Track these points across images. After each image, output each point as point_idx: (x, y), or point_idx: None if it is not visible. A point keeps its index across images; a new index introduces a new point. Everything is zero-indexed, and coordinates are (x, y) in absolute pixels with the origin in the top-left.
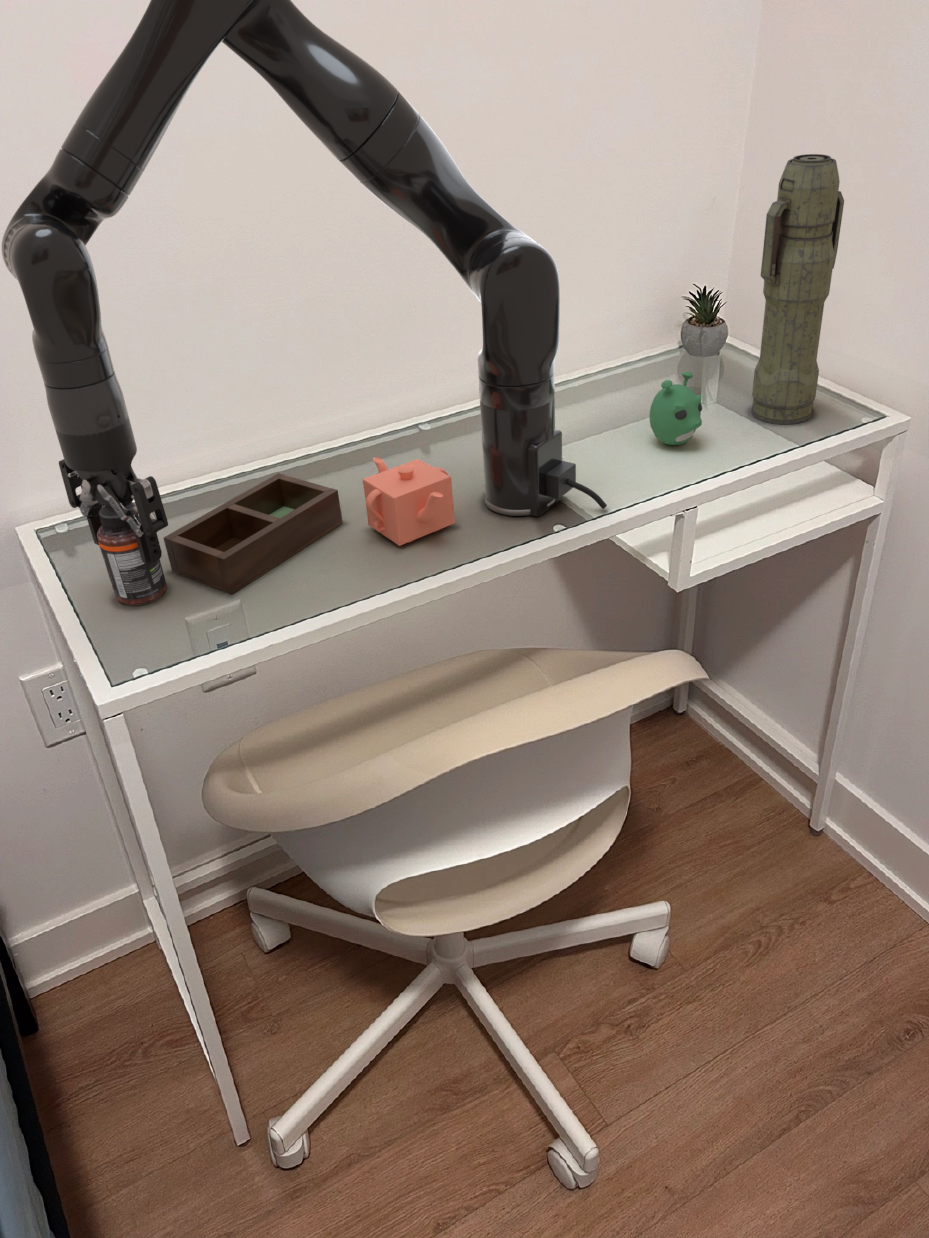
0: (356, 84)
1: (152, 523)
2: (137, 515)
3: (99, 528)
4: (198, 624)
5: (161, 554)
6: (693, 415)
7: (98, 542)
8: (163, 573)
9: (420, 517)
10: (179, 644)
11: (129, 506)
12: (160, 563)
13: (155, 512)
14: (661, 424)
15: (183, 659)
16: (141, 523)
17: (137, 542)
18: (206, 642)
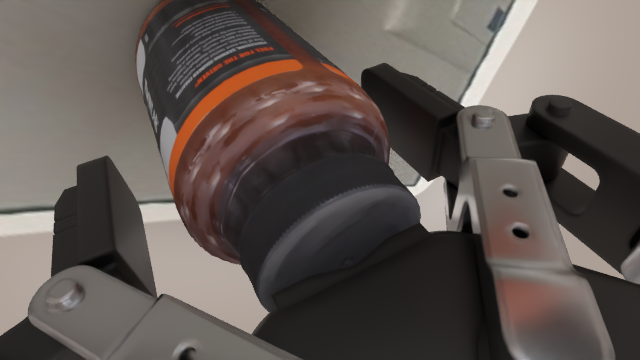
0: None
1: (561, 167)
2: (384, 164)
3: (240, 264)
4: (422, 19)
5: (406, 74)
6: None
7: (141, 215)
8: (263, 7)
9: None
10: (431, 79)
11: (384, 215)
12: (284, 24)
13: (581, 155)
14: None
15: (460, 91)
16: (368, 134)
17: (411, 164)
18: (468, 39)
